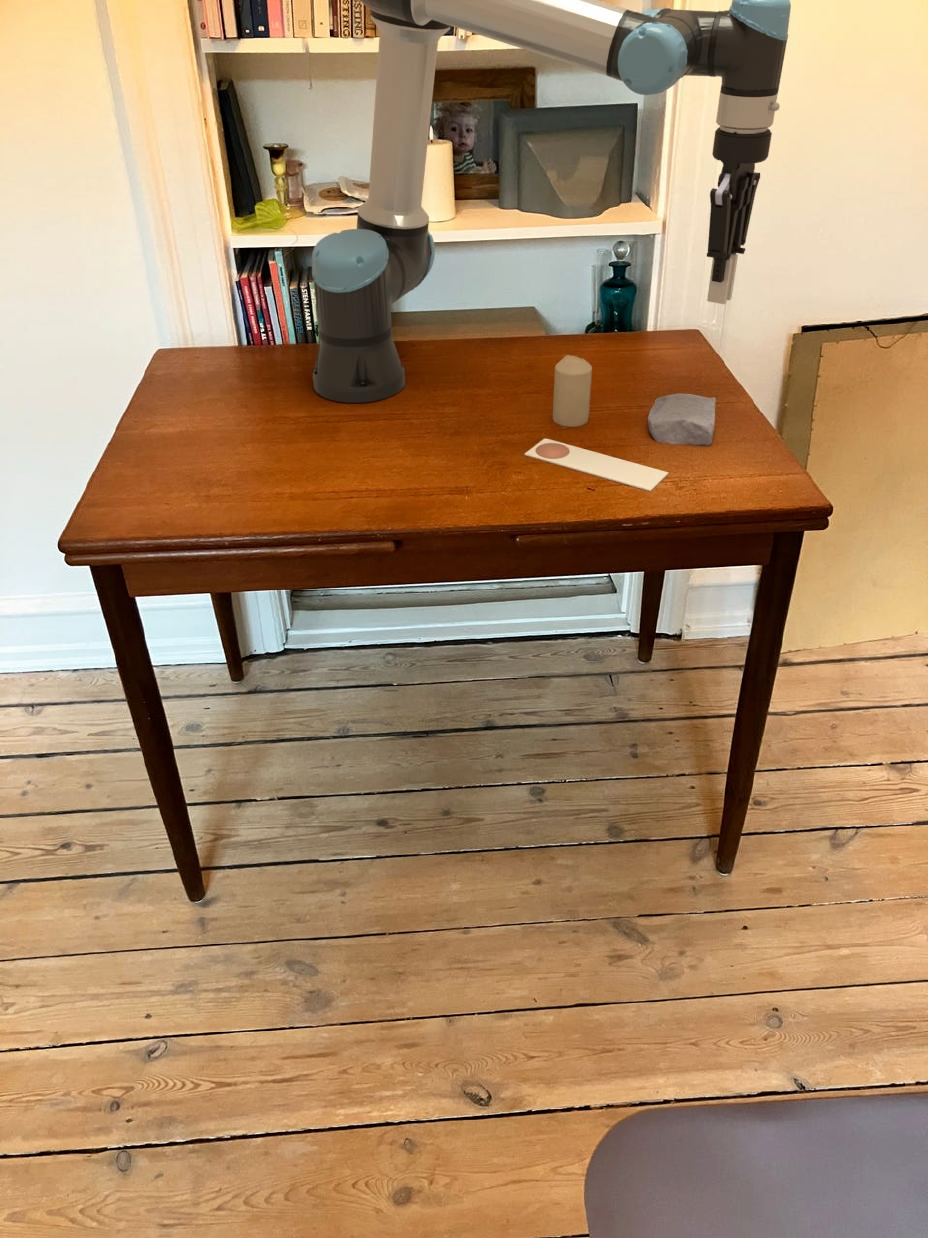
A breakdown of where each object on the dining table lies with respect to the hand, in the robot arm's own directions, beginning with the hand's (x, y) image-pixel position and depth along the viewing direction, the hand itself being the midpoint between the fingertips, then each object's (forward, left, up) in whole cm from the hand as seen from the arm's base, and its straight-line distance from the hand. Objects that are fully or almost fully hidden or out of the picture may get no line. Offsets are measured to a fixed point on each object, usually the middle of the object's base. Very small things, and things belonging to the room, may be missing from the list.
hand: (719, 299), depth 149 cm
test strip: (-5, -28, -16) cm, 33 cm away
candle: (-15, -17, -17) cm, 28 cm away
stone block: (0, -10, -17) cm, 20 cm away
